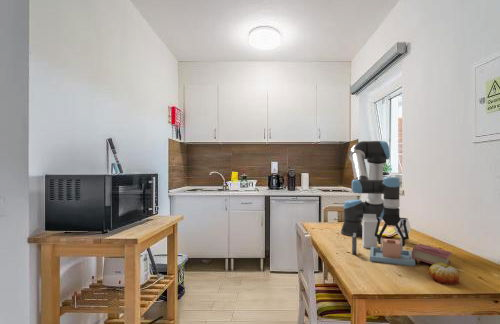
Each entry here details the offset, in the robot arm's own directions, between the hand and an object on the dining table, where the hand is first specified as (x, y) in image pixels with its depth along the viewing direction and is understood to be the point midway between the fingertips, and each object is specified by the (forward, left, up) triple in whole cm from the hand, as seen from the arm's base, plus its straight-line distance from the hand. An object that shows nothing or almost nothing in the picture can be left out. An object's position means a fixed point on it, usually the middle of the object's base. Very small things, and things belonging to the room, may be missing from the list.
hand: (391, 251), depth 163 cm
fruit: (+26, +19, -4) cm, 32 cm away
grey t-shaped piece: (0, -18, -3) cm, 18 cm away
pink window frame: (0, 0, -3) cm, 3 cm away
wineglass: (-17, +6, -4) cm, 18 cm away
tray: (0, 0, -3) cm, 3 cm away
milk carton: (-20, -11, -4) cm, 23 cm away
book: (+1, +17, -2) cm, 17 cm away
